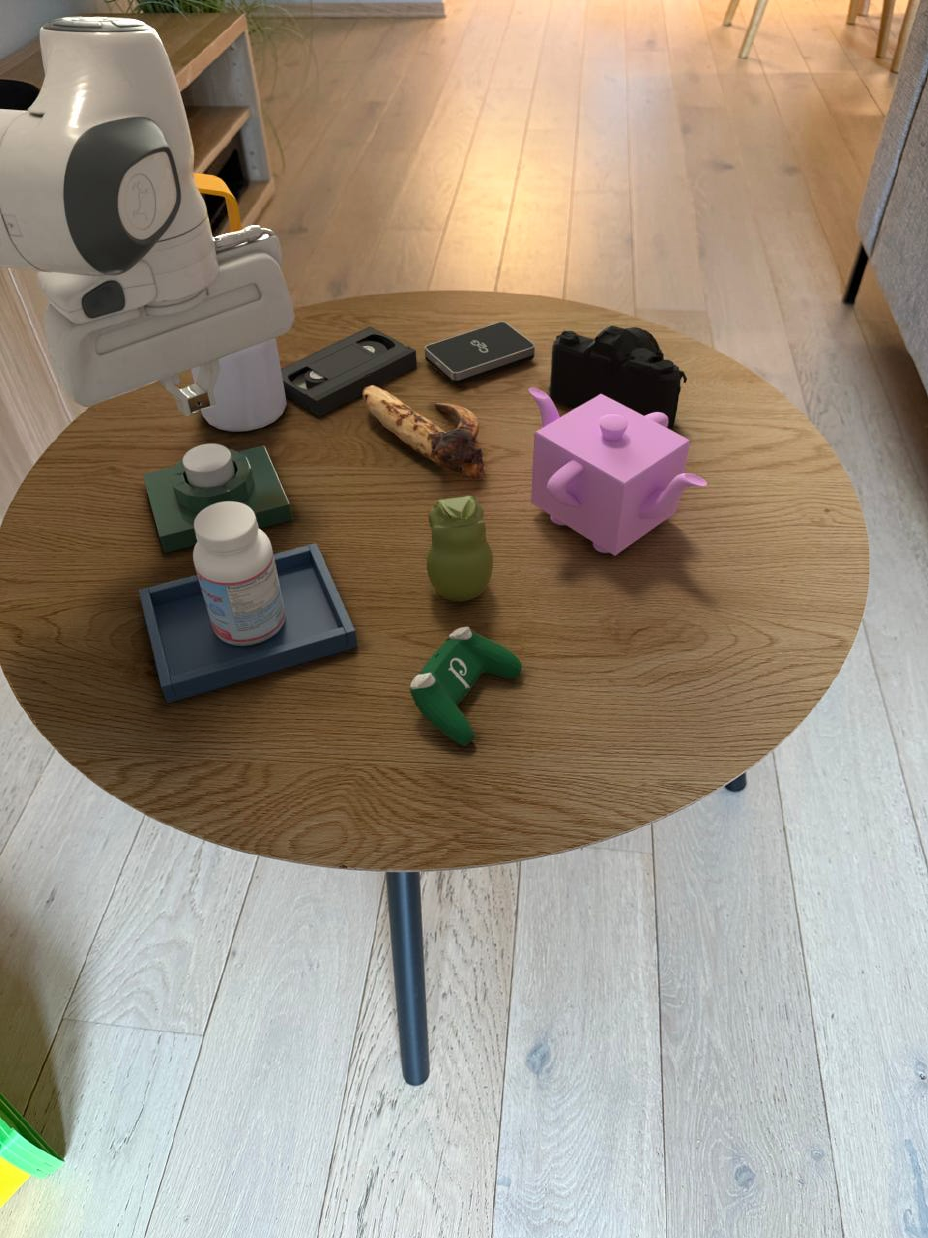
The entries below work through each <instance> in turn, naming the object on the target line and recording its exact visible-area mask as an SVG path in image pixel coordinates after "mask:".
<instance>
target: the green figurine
mask: <svg viewBox="0 0 928 1238" xmlns="http://www.w3.org/2000/svg"><path fill="white" fill-rule="evenodd" d="M484 515H485V513H484V508H483V505H482V504H480V503H479V502H478V500H477V497H476V496H475V495H474V494H467V495H466V494H465V495H460V496H453V497H448V498H447V497H446V498H440V499H437V500H436V501H435V503H434V504H433V507H432V509H431V510H430V512H429V514H428V522H429V525H430V529H431V545H430V548H429V549H428V552H427V556H426V570H427V576H428V579H429V582H430V583H431V586H432V587H433V589H434V590H435V592H437V594H438V595H440V596H441V597H443V598H444V599H446V600H449V601H453V602H467V601H471V600H474V599H475V598H477V597H478V596H480V595H481V594H482V593H483V592H484V591H485V590H486V589H487V587H488V585H489V583H490V581H491V578H492V574H493V568H494V555H493V550H492V547H491V544H490V543H489V541H488V540H487V539H488V538H487V526H486V523H485V521H484V519H485V516H484Z"/></svg>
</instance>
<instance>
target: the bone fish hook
mask: <svg viewBox="0 0 928 1238" xmlns="http://www.w3.org/2000/svg"><path fill="white" fill-rule="evenodd" d="M362 399H363V401H364V403H365V407H366V409H367V410H368V411H369V412H370V413H371V414H372V415H373V416H374V417H375V418H376V419H377V420H378V421H379V422H380V424H381V425H382V427H384V428H386V429H387V430H388V431H390V432H391V433H393V434H394V435H395V436H396V437H397V438H399V440H400V441H402V442H403V443H405V444H406V445H408V446H409V447H411V449H412V450H413V451H415V452H416V453H420V454H421V455H422V456H423V457H425V458H426V459H428V460H431V461H432V462H433V463H435V464H436V465H437V466H439V467H440V468H442V469H445V470H447V471H450V472H453V473H459V474H461V475H462V478H464V479H468V480H471V481H477V480H480V479H482V478H483V477H484V476H486V472H485V469H484V467H485V463H484V459H483V450H482V447H478V446H476V444H475V442H476V440H477V437H478V435H479V432H480V423H479V420H478V418H477V416H475V414H474V413H473V412H472V411H471V410H469V409H467V408H466V407H464V406H460V405H457V404H453V403H447V402H437V403H436V402H435V404H434V407H435V408H436V410H439V411H440V412H443V413H445V414H447V415H450V416H452V417H455V419H456V420H457V422H458V425H457V428H455V429H451V430H449V431H447V432H445V431H444V430H443V429H442V428H441V427H439V426H438V425H437V424H435V423H434V422H432V421H431V420H430V419H428V417H425V416H424V415H421V414H419V413H418V412H416V410H413V409H412V408H411V407H410V406H408V405H406V404H405V403H403V401H401V400H400V398H398V397H397V396H395V395H393V394H392V393H389V392H388V391H387V390H385V389H382V388H381V387H380V386H377V387H376V386H374V385H371V386H369V387H365V388H364V390H363V394H362Z"/></svg>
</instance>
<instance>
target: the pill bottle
mask: <svg viewBox="0 0 928 1238" xmlns="http://www.w3.org/2000/svg"><path fill="white" fill-rule="evenodd" d="M194 529H195V533H196V538H197V543H196V545H194V548H193V551H192V561H193V564H194V568H195V572H196V575H197V576H198V579H199V583H200V586H201V590H202V593H203V597H204V600H205V604H206V607H207V611H208V614H209V618H210V621H211V624H212V627H213V630H214V632H215V634H216V635H217V636H218V637H219V638H220V639H221V640H223V641H224V642H226V643H228V644H231V645H235V646H250V645H255V644H258V643H261V642H263V641H265V640H267V639H269V638H271V637H272V636H274V635H275V634H276V633H277V632H278V631H279V630H280V629H281V627H282V626H283V623H284V621H285V608H284V603H283V598H282V594H281V589H280V584H279V579H278V574H277V569H276V564H275V560H274V555H273V554H274V551H273V547H272V543H271V540H270V538H269V537H268V535H267V534H266V532H264V531H263V530H261V528H260V529H259V528H258V523H257V521H256V516H255V514H254V512H253V510H252V509H251V508H250V507H248V506H247V505H245V504H243V503H239V502H233V501H226V502H219V503H215V504H213V505H210V506H208V507H206V508H205V509H203V510H202V511H201V512H200V513H199V514H198V515H197V517H196V518H195V521H194Z"/></svg>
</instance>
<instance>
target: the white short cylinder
mask: <svg viewBox="0 0 928 1238" xmlns="http://www.w3.org/2000/svg"><path fill="white" fill-rule="evenodd" d="M228 449H229V448H228V447H226V446H225V445H222V444H219V443H204V444H200V445H197V446H194V447H192V448H191V449H189V450H188V451H186V453H185V454H184V455H183V457H182V459H183V466H184V470H185V473H186V477H187V480H188V482H189V484H191V485H192V486H193V487H195V488H206V489H209V488H213V487H217V486H221V485H224V484H226V483H227V482H229V481H230V480H232V479H233V477H234V474H235V469H234V465H233V461H232V456H231V453H230V451H229V450H228Z"/></svg>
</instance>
